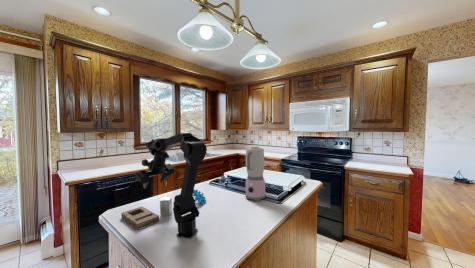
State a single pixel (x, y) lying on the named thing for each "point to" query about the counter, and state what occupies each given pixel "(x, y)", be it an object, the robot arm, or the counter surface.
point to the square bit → (166, 206)
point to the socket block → (140, 217)
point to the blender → (255, 173)
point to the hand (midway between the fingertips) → (153, 185)
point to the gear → (199, 196)
